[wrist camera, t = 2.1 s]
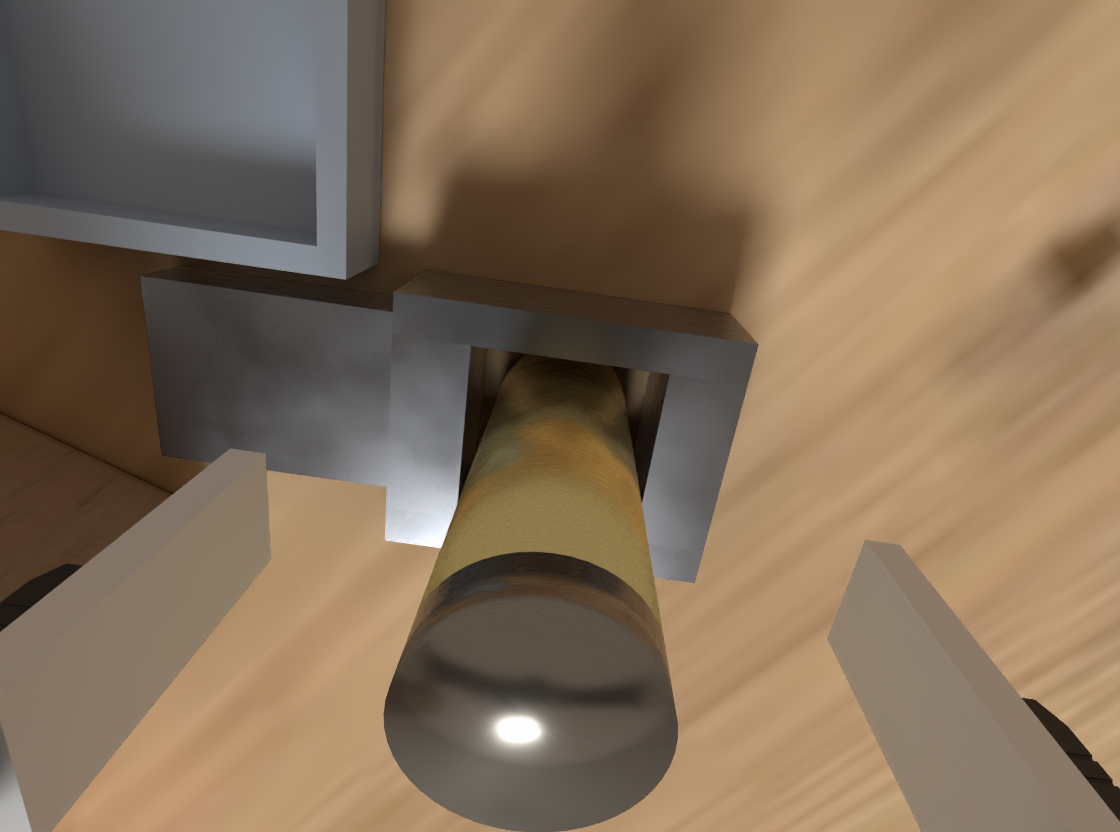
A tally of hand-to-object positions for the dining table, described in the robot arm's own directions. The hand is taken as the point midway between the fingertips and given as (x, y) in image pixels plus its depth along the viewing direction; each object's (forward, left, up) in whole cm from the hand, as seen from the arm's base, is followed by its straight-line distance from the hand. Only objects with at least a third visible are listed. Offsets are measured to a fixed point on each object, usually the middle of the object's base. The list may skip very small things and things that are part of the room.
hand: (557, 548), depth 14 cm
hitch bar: (-4, 0, -9) cm, 10 cm away
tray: (-12, +9, -9) cm, 18 cm away
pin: (0, 0, -9) cm, 9 cm away
